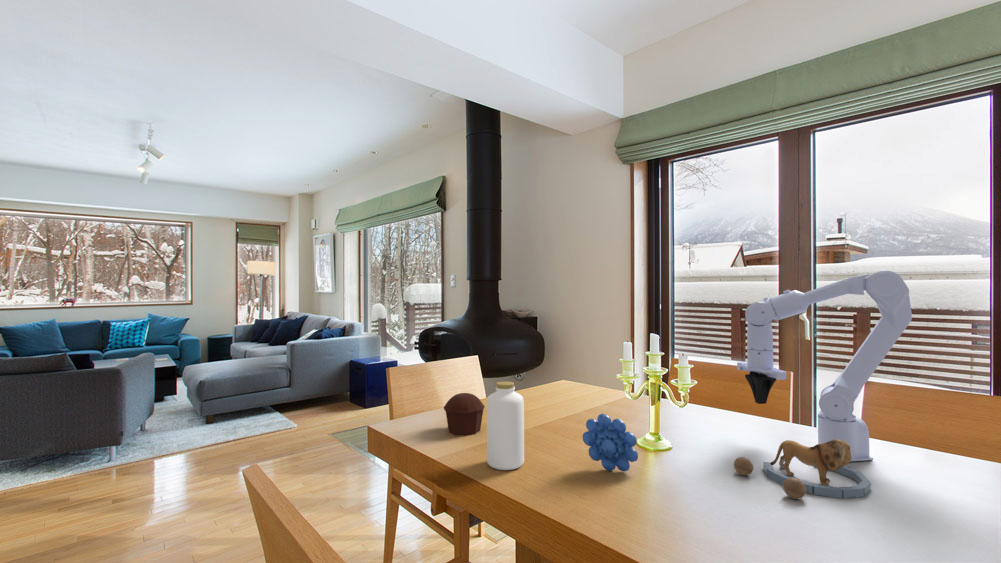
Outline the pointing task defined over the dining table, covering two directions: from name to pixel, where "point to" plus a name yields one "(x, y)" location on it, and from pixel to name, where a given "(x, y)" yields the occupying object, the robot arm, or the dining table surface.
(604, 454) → the blue flower
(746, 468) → the walnut bead
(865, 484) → the groove ring
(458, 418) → the muffin
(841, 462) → the lion figurine
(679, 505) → the dining table surface
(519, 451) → the white bottle
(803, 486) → the walnut bead
